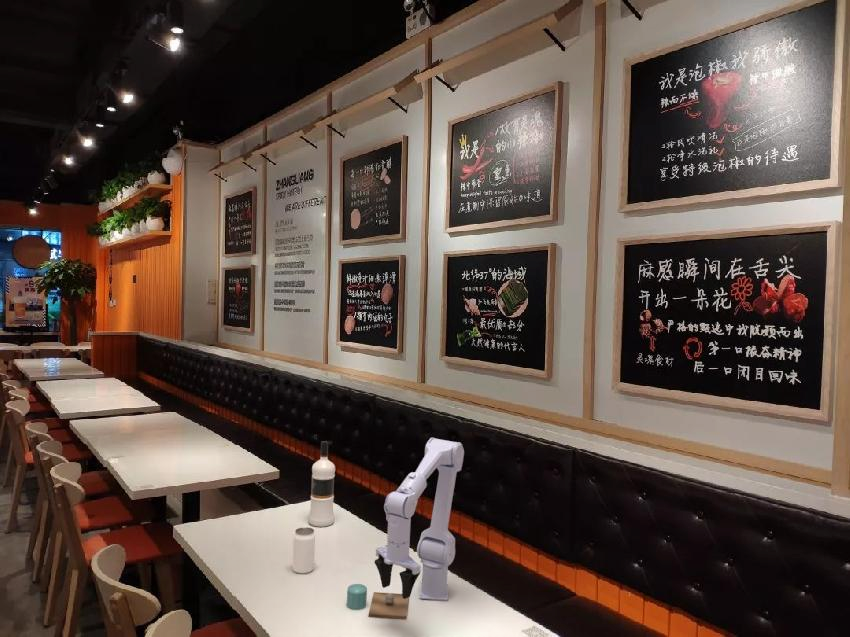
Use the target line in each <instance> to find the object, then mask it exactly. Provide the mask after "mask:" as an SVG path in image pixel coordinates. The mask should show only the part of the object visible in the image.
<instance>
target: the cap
mask: <svg viewBox="0 0 850 637" xmlns="http://www.w3.org/2000/svg"><path fill="white" fill-rule="evenodd" d="M346 591H347V592H346V594H347V595H346V606H347V608H349V609H351V610H363V609H364V608H366V607H367V598H368V588H367V586H366V585H364V584H363V583H362V584H361V583H354V584H350V585H348V586H347V590H346Z"/></svg>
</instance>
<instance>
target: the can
mask: <svg viewBox="0 0 850 637" xmlns="http://www.w3.org/2000/svg"><path fill="white" fill-rule="evenodd" d="M294 531H295V533H294V534H293V541H292V542H293V544H292V546H293V547H292V548H293V549H292V567H291V568H292V571H293V572H294V573H296V574H299V575H303V574H310V573H311V572H313V570H314V568H315V553H316V552H315V550H316V534H315V530H314V528H312V527H309V526H308V527H305V526H304V527H298V528H296V530H294Z"/></svg>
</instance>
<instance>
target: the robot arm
mask: <svg viewBox="0 0 850 637" xmlns="http://www.w3.org/2000/svg"><path fill="white" fill-rule="evenodd" d="M464 456H465V450H464V447H463V444H462V443H461V442H459V441H458V442H457V441H450V440H445V439H439V438H436V437H430V438H429V440H428V441H427V442H426V444H425V447H424V457H422V460H421V461H420V462H419V464H418V467H417V468H416V470H415V472H413V471H412V472H410V473H408V475H406V477H405V478H404V479H403V481H402V482H401V484H400V486H399V487H398V488H397V489H396V491H391V492H390V493H388V494H387V496H386V497H385V501H384V505H383V509H384V512H385V515H386V516H385V517H386V518H385V519H386V521H387V538H386V539H387V540H386V547H384V546H380V547H377V548H375V556H376V557H377V558H376V559H375V560H374V564H375V567H376V568H377V569H376V570H377V571H378V573H379V578H380V581H381V582H380V583H381V586H382V588H384V589H385V588H387V587H390V586H391V581H392V580H391V579H392V571H393V566H394V565H396V566H399V567H402V568H404V569H405V570H403V571H401V572H399V577H400V582H401V589H402V590H401V592H402V593H401V594H402V596H403V598H404V599H406V598H408V597H409V598H411V594H412V592H413V588H414V586H415V583H416V581H417V579H418V578H419V576H420V575H421V582H420V588H419V599H420V600H432V601H433V600H434V601H448V600H449V584H448V571H449V569H448V568H449V566H450V565H451V564H452V563H453V562H454V559H455V556H456V538H455V537H454V535H453V534H452V533H451V531H449V522H450V517H451V516H450V515H451V511H452V510H451V509H452V502H453V496H454V493H455V492H454V490H455V485H456V478H457V473H458V472H460V471H462V467H463V463H464ZM436 469H437V470H438V478H437V484H436V491H435V496H434V501H433V502H434V503H433V508H432V514H431V521H430V526H429V527H428V528H426V529H424V530H423V531H422V532H421V535H420V537H419V541H418V543H417V547H416V554H417V557H418V558H419V559H420V563H421V564H422V567H421V564H420V563H418V562H416V561H415V560H414V559H413V557H411V556H410V542H411V540H410V539H411V538H410V537H411V522H412V520H411V519H412V518H411V517H413V515H414V514H415V511H416V507H417V505H418V503H419V502H418V501H419V500H418V499H419V498H420V496H421V495H422V494H423V492H424V490H425V489H426V488H427V486H428V483H427V479H429V477H430V476H431V475H432V474H433V473H434V471H435V470H436ZM421 568H422V569H421ZM421 570H422V572H421Z"/></svg>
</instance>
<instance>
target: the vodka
mask: <svg viewBox="0 0 850 637" xmlns="http://www.w3.org/2000/svg"><path fill="white" fill-rule="evenodd" d="M328 456H329V441H327V440H324V441H321V442H320V459H318V460H317V461H315V462H314V463H313V464H312V467H311V490H310V491H311V494H310V508H309V509H310V510H309V515H308V521H307V522H308V524H310V525H311V526H314V527H316V526H317V527H316V528H324V527H325V526H326V527H329V526H331V525H332V524H334V522H335V515H334V514H335V513H334V498H335V495H334V490H335V489H334V488H335V487H334V485H335V476H336V474H335V472H336V465H335V464H334V462H332V461H330V460H329V459H328Z"/></svg>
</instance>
